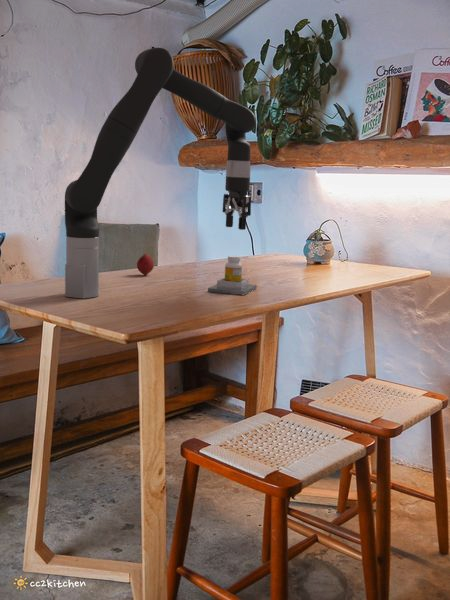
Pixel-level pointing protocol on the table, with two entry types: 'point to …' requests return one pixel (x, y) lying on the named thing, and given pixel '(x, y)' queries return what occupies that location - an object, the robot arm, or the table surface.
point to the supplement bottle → (233, 269)
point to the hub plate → (232, 287)
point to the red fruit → (145, 264)
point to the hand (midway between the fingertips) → (235, 228)
